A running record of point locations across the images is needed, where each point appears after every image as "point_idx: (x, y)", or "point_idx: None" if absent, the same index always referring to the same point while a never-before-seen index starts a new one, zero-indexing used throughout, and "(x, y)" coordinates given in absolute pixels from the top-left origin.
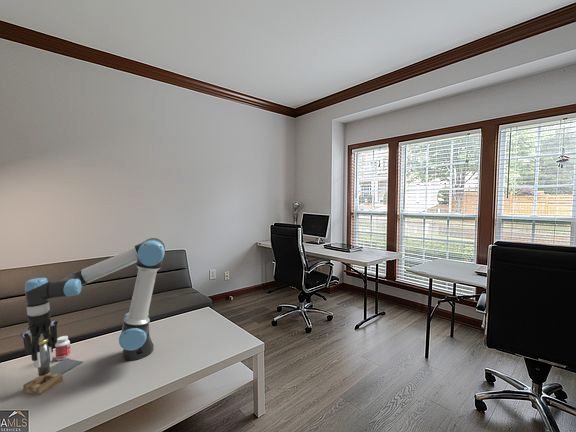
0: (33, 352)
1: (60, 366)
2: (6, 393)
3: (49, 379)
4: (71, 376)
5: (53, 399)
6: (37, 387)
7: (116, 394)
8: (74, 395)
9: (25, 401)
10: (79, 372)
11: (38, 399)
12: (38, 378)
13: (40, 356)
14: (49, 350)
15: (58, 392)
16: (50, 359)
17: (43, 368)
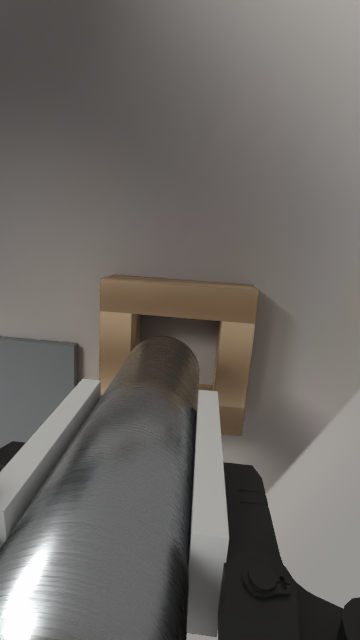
0: (295, 619)
1: (13, 421)
2: None
3: None
4: (65, 261)
5: (278, 145)
6: (252, 314)
7: None
8: (224, 22)
9: (311, 314)
10: (20, 247)
11: (288, 250)
12: None
13: (180, 468)
14: (37, 464)
15: (213, 184)
16: (92, 388)
17: (182, 367)
